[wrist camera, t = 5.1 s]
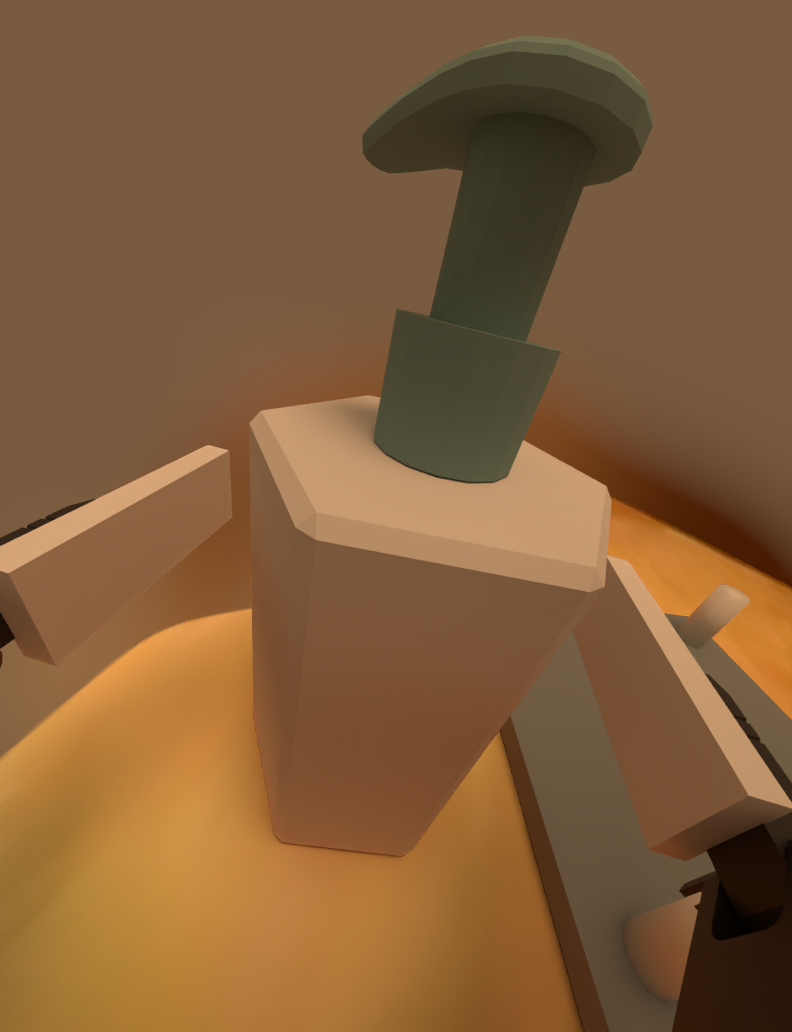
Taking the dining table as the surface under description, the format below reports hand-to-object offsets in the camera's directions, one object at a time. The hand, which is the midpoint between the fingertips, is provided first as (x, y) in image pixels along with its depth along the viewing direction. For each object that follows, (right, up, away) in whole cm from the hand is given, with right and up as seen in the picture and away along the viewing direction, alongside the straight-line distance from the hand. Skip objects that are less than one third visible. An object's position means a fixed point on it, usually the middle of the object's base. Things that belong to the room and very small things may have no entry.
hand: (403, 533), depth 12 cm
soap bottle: (-2, -11, +6) cm, 12 cm away
